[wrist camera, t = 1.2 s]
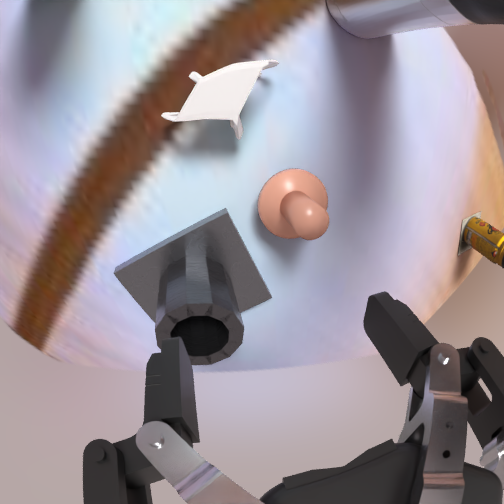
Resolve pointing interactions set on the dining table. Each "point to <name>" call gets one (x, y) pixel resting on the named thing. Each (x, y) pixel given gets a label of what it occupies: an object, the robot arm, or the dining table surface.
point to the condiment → (482, 239)
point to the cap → (294, 205)
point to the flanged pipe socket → (197, 287)
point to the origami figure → (221, 94)
